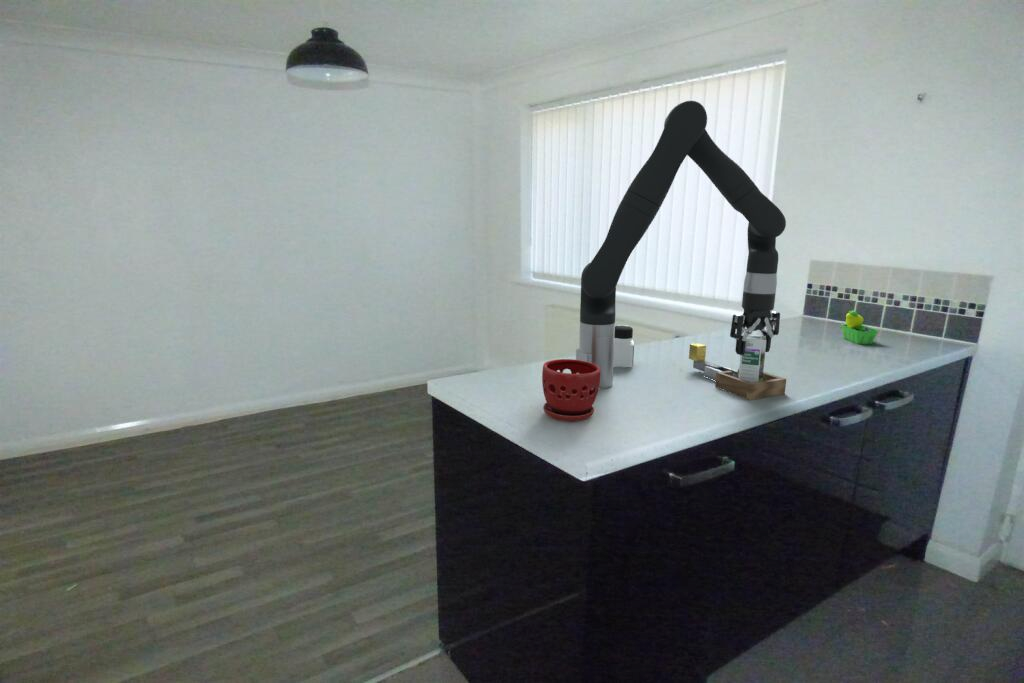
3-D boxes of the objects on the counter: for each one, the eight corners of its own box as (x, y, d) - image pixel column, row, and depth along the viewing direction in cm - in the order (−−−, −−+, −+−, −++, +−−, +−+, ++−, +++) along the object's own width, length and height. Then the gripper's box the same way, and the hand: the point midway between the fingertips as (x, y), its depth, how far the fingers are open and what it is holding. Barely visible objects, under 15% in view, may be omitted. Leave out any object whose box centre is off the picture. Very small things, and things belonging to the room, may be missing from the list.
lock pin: (714, 375, 154) (716, 352, 152) (688, 366, 163) (689, 344, 162) (723, 374, 155) (725, 351, 154) (696, 365, 165) (698, 343, 163)
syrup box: (737, 392, 143) (742, 337, 140) (737, 385, 149) (742, 333, 145) (761, 394, 141) (766, 339, 138) (760, 388, 147) (765, 334, 143)
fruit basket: (878, 344, 195) (882, 313, 192) (852, 344, 195) (857, 313, 192) (858, 337, 206) (863, 307, 203) (834, 337, 206) (838, 307, 203)
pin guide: (724, 385, 149) (725, 373, 149) (703, 377, 157) (704, 366, 156) (738, 382, 151) (739, 371, 151) (717, 375, 158) (718, 364, 158)
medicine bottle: (633, 368, 166) (634, 329, 163) (608, 366, 167) (610, 328, 165) (632, 362, 173) (634, 324, 170) (609, 360, 174) (611, 323, 171)
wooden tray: (750, 400, 137) (751, 384, 136) (715, 386, 148) (716, 372, 147) (784, 393, 142) (786, 379, 141) (748, 381, 153) (749, 367, 152)
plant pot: (558, 429, 119) (559, 376, 116) (532, 410, 131) (532, 361, 128) (610, 420, 124) (612, 369, 121) (580, 402, 136) (581, 355, 133)
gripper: (750, 294, 133) (743, 359, 137) (792, 291, 138) (784, 353, 142) (726, 290, 140) (720, 352, 143) (768, 287, 145) (761, 347, 149)
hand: (752, 352), depth 143 cm, fingers open, 8 cm apart
